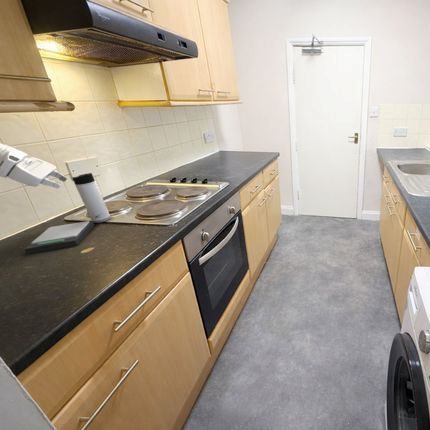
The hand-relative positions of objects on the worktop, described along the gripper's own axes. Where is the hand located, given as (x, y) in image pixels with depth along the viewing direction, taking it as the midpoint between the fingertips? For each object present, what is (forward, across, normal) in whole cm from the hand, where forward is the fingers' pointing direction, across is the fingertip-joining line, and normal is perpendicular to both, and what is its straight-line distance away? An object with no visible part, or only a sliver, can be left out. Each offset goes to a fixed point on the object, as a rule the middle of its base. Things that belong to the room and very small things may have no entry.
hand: (63, 182), depth 101 cm
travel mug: (+17, 0, -8) cm, 19 cm away
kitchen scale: (+10, +11, -15) cm, 21 cm away
